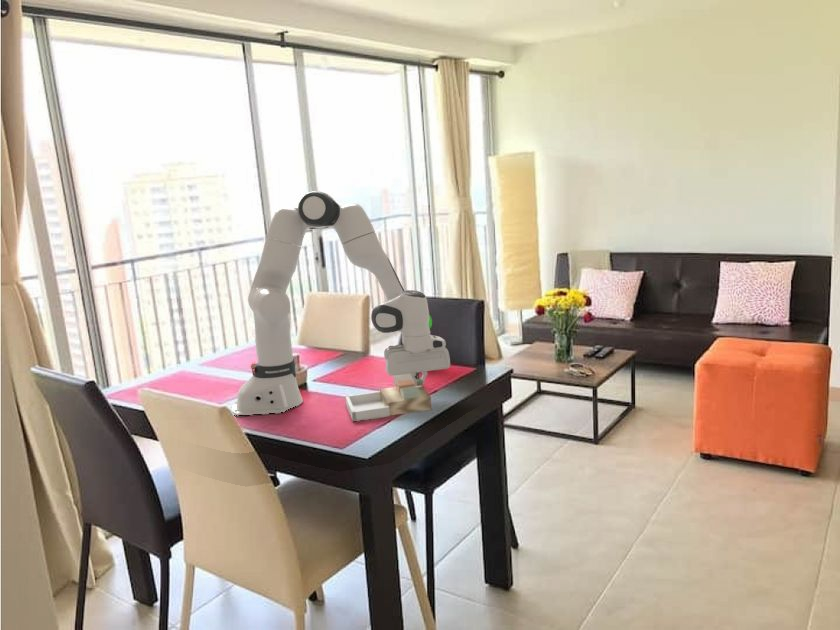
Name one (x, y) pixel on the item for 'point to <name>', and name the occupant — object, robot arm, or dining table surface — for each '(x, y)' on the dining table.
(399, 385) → the terracotta tile
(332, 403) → the dining table surface
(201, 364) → the dining table surface
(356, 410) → the grey box
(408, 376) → the medicine bottle
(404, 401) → the birch block
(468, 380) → the dining table surface
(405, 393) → the sage tile
